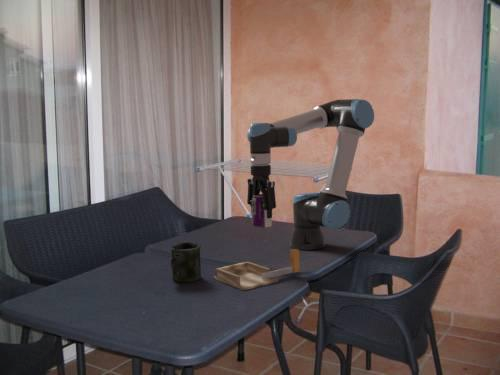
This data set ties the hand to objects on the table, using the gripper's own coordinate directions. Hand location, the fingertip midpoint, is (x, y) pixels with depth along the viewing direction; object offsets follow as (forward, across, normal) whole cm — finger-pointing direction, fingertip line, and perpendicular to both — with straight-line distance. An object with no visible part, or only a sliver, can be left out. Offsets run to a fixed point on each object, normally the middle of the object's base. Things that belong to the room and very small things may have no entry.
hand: (261, 225), depth 227 cm
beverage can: (+1, 0, 0) cm, 1 cm away
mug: (+16, -5, -32) cm, 36 cm away
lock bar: (+15, +16, -5) cm, 23 cm away
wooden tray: (+16, +9, -15) cm, 24 cm away
